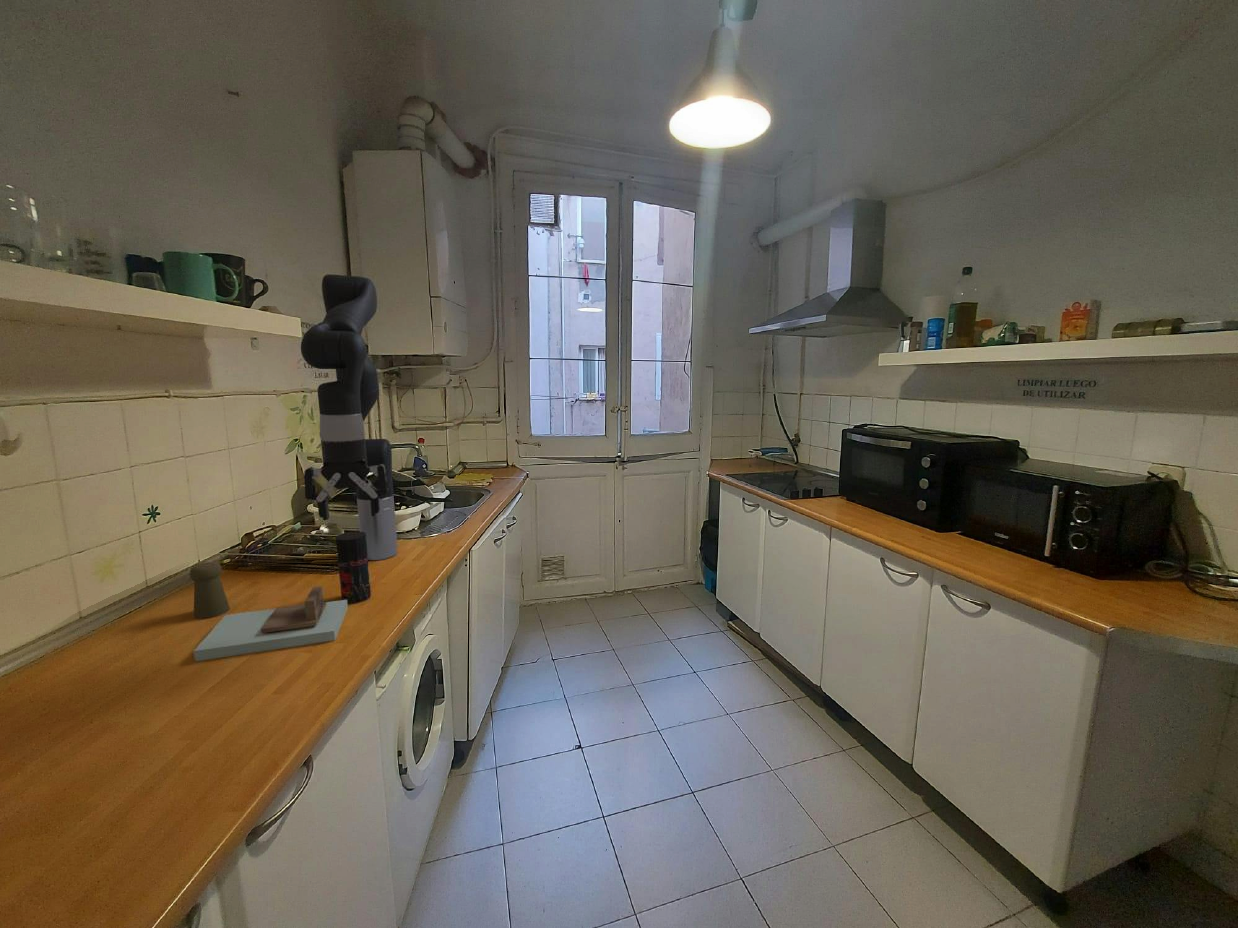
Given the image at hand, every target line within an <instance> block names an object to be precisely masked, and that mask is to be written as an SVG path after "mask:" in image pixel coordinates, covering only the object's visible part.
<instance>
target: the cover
mask: <svg viewBox="0 0 1238 928" xmlns="http://www.w3.org/2000/svg"><path fill="white" fill-rule="evenodd" d="M326 602H327V601H324V592H323V586H322V585H321V586H320V585H319V586H313V587H312V588H311V590H310V591H309V593H308V595H307V596H306V599H305V600H304V602H303V603H304V604H297V605H288V606H282V607H275V608H274V609H275V610H274V612H273V613H272V614H271V616H270V617H269V619H268V620H267V622H266V623H265V624H264V626H263V627H262V629H261V633H267V632H274V631H281V630H288V629H296V628H303V627H310V626H316V625H317V623H318V621H319V619H320V617H321V615H322V613H323V611H324V609H325V607H326Z"/></svg>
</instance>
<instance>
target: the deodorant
mask: <svg viewBox="0 0 1238 928" xmlns="http://www.w3.org/2000/svg"><path fill="white" fill-rule="evenodd" d="M335 543H336V553H337V565H338V566H337V567H338V574H339V585H340V595H341V596H340V597H341V600H347V604H349V605H350V604H359V603H362V602H365V601H367V600H369V599H370V598H371V597H372V589H371V579H370V578H371V577H370V570H369V569H370V568H369V560H368V554H367V542H366V533H364V532H360V531H349V532H343V533H340V534H338V535H336V536H335Z"/></svg>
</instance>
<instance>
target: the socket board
mask: <svg viewBox="0 0 1238 928" xmlns="http://www.w3.org/2000/svg"><path fill="white" fill-rule="evenodd" d="M325 602H326V607H325V609H324V611H323V613H322V615H321V617H320V619H319V621H318V623H317V625H316V626H310V627H303V628H296V629H288V630H281V631H274V632H267V633H261V629H262V627H263V626H264V624H265V623H266V622H267V620H268V619H269V617H270V616H271V614H272V613H273V612H274V610H275V609H276V608H270V609H264V610H263V609H262V610H255V611H247V612H246V611H245V612H238V613H230V614H225V615H224V617H223V618H221V620H220V621H219V622H218V623H217V624H216V625H215V626H214V627H213V629H212V630H210V632H209V633H208V634H207V635H206V637H205V638H203V640H202V641H201V642H200V643H199V644H198V646H196V648H195V649H194V650H193V656H194V662H201V661H205V660H206V661H207V660H213V659H220V658H221V659H222V658H226V657H232V656H240V655H247V654H252V653H253V654H254V653H260V652H266V651H274V650H279V649H285V648H293V647H299V646H307V645H312V644H320V643H327V642H333V641H336V640H337V636H338V634H339V631H340V628H341V626H342V624H343V621H344V619H345V617H346V614H347V611H348V608H349V607H348V604H347V600H342V599H341V600H334V601H325Z"/></svg>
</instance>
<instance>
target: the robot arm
mask: <svg viewBox="0 0 1238 928" xmlns="http://www.w3.org/2000/svg"><path fill="white" fill-rule="evenodd" d="M321 292H322V293H321V294H322V299H323V304H324V309H325V316H324V318H323V320H322V321H321V322H320V323H317V324H316V325H313V326H312V327H309V329H308V330H307V331H306V332H305V333H304V335H303V337H302V339H301V343H300V352H301V356H302V358H303V360H304V361H305V363H307V364H308V365H309V366H310V367H313V368H314V369H318V370H335V375H336V376H335V377H336V380H335V381H334V380H333V381H329V382H323V383H320V384H319V386H318V387H317V399H318V400H317V401H318V411H319V425H318V426H319V438H320V446H321V447H320V448H321V456H322V467H321V468H320V467H317V468H316V467H315V468H314V467H313V466H309V467H307V468H306V469H305V470H304V474H303V476H304V498H305V499H306V500H308V501H309V500H312V501H315V502H316V503H317V508H318V509H317V510H318V516H319V518H322V519H323V521H328V520H329V519H330V510H329V509H330V508H329V501H328V499H327V497H328V495H329V494H330V492H331V491H332V490H333V488H335V489H337V490H343V489H347V488H348V489H356V491H355V492H356V503H357V504H356V505H357V515H358V525H359V526H358V529H359V532H364V533H366V542H367V554H368V561H380V560H386V559H389V558H392V557H394V556H396V555H397V554H398V538H397V537H398V535H397V526H396V525H397V524H396V510H395V509H396V508H395V499H394V487H393V486H394V483H393V456H392V455H393V452H392V445H391V442H390V441H389V440H388V439H386V438H367V439H366V433H365V425H364V422H365V420H366V419H367V416H368V415H369V414H370V412H371V411H372V410H373V407H374V405H375V404H376V403H377V400H378V398H379V396H380V388H379V387H380V386H379V376H378V371H377V368H376V366H375V364H374V362H373V361H372V360H371V359H370V357H369V356H368V352H367V351H368V348H367V344H366V342H365V339H364V338H363V336H362V332H363V329H364V328H365V327H366V325H367V324H368V323H369V322H370V321H371V319H372V318H373V317H374V316H375V314H376V313H377V308H378V299H377V290H376V286H375V284H374V282H373V281H372V280H371V279H369V278H368V277H364V276H357V275H342V274H329V273H328V274H325V275H324V276H323V278H322V280H321ZM370 473H371V474H372V473H373V475H374V476H375V477H376V478H374V479H373V480H371V481H370V480H369V479H367V476H368V475H369V474H370ZM319 475H321V476H322V477H323V478H324V479H325V480H326V481H327V483H326V484H325V486H324V487H323V488H322V489H321V491H320V492H317V491H316V480H317V479H319V477H320V476H319Z"/></svg>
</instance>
